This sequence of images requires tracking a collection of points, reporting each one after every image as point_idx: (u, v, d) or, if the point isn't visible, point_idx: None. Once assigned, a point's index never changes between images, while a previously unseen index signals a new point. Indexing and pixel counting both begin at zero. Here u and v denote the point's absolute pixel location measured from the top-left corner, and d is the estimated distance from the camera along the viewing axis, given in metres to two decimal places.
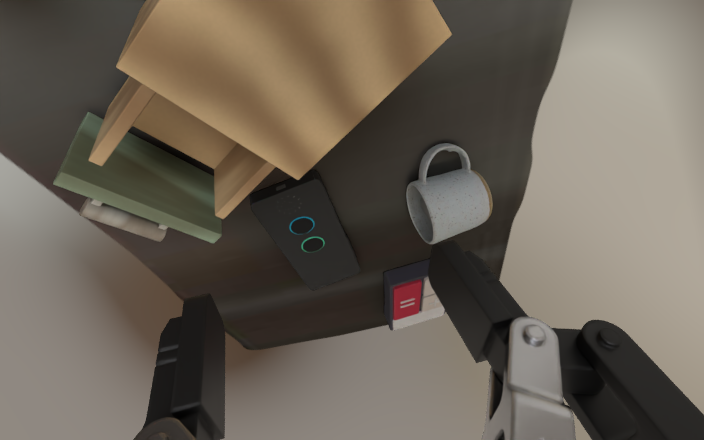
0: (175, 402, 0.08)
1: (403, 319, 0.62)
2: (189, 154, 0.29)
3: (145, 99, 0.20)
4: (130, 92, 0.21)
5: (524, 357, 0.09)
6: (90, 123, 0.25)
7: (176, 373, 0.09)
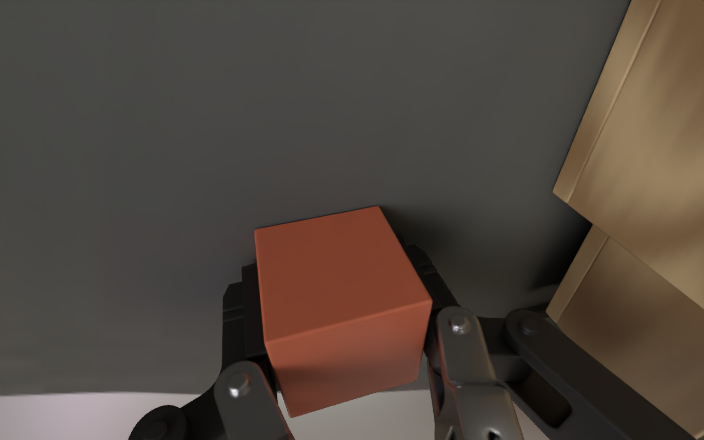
0: (249, 350, 0.09)
1: None
2: None
3: None
4: (702, 350, 0.11)
5: (445, 344, 0.09)
6: None
7: (245, 327, 0.10)
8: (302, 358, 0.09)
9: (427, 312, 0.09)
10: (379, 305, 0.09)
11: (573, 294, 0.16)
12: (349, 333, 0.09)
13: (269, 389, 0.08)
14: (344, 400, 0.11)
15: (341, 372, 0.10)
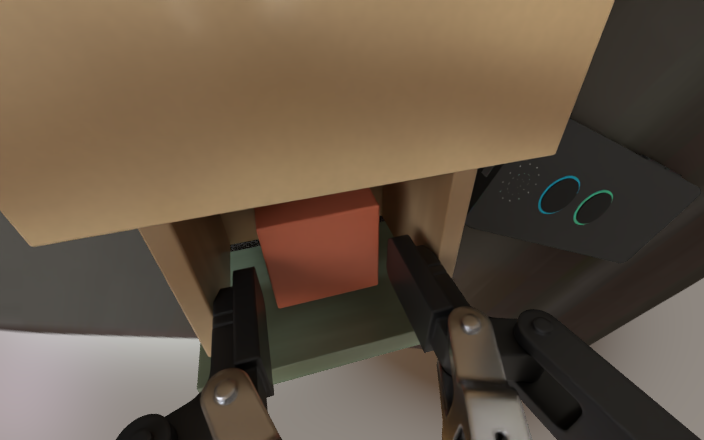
0: (237, 356, 0.09)
1: None
2: None
3: (166, 236, 0.09)
4: None
5: (457, 344, 0.09)
6: None
7: (234, 332, 0.10)
8: (284, 247, 0.12)
9: (376, 215, 0.13)
10: (340, 208, 0.12)
11: None
12: (318, 228, 0.12)
13: (257, 395, 0.08)
14: (320, 296, 0.14)
15: (315, 266, 0.13)
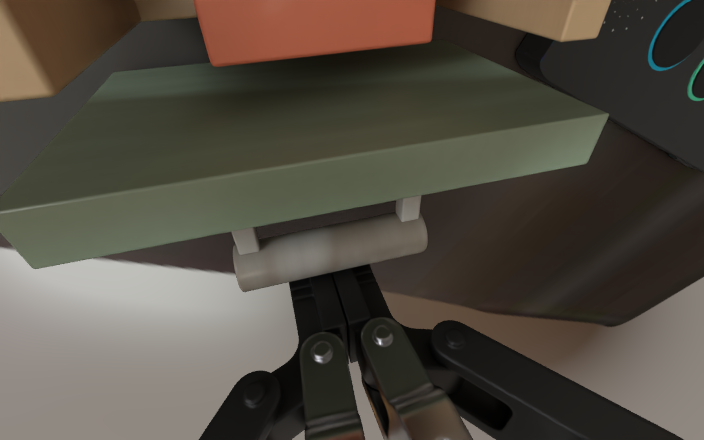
0: (325, 323, 0.10)
1: None
2: None
3: None
4: None
5: (365, 357, 0.09)
6: (115, 83, 0.10)
7: (317, 303, 0.10)
8: None
9: None
10: None
11: None
12: None
13: (347, 366, 0.09)
14: (307, 46, 0.06)
15: None
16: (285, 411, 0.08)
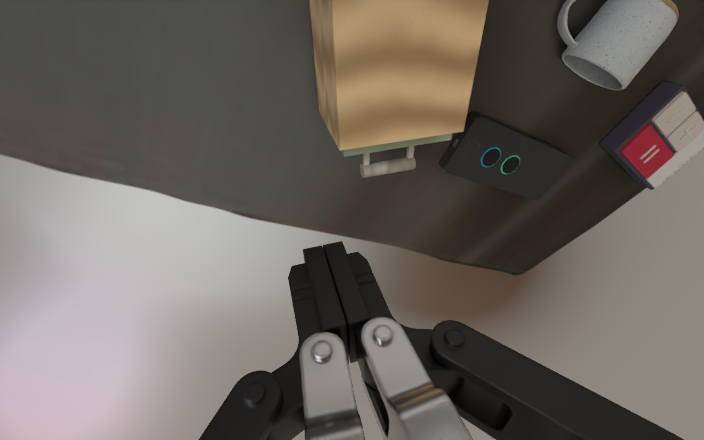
0: (325, 323, 0.10)
1: (659, 171, 0.55)
2: None
3: None
4: None
5: (365, 357, 0.09)
6: None
7: (317, 303, 0.10)
8: None
9: None
10: None
11: None
12: None
13: (347, 366, 0.09)
14: None
15: None
16: (285, 411, 0.08)
